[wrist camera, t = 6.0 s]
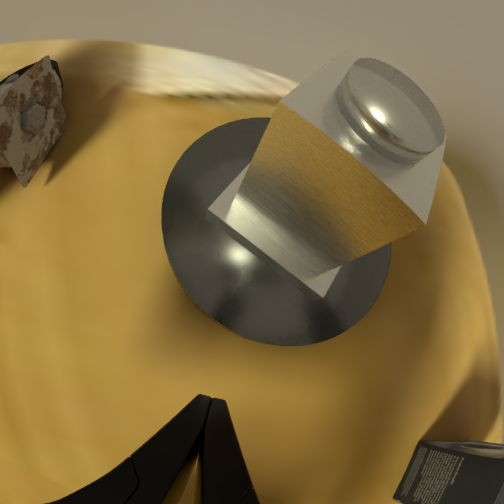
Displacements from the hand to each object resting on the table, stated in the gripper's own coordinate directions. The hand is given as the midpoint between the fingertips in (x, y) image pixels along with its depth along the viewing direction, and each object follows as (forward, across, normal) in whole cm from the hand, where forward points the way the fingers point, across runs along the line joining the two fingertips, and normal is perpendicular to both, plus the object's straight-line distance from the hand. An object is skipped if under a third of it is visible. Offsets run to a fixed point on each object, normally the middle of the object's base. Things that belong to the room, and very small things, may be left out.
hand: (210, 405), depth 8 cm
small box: (+6, -22, +13) cm, 26 cm away
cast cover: (+11, -2, -5) cm, 12 cm away
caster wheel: (+11, +21, -8) cm, 25 cm away
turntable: (+13, -2, -3) cm, 13 cm away
